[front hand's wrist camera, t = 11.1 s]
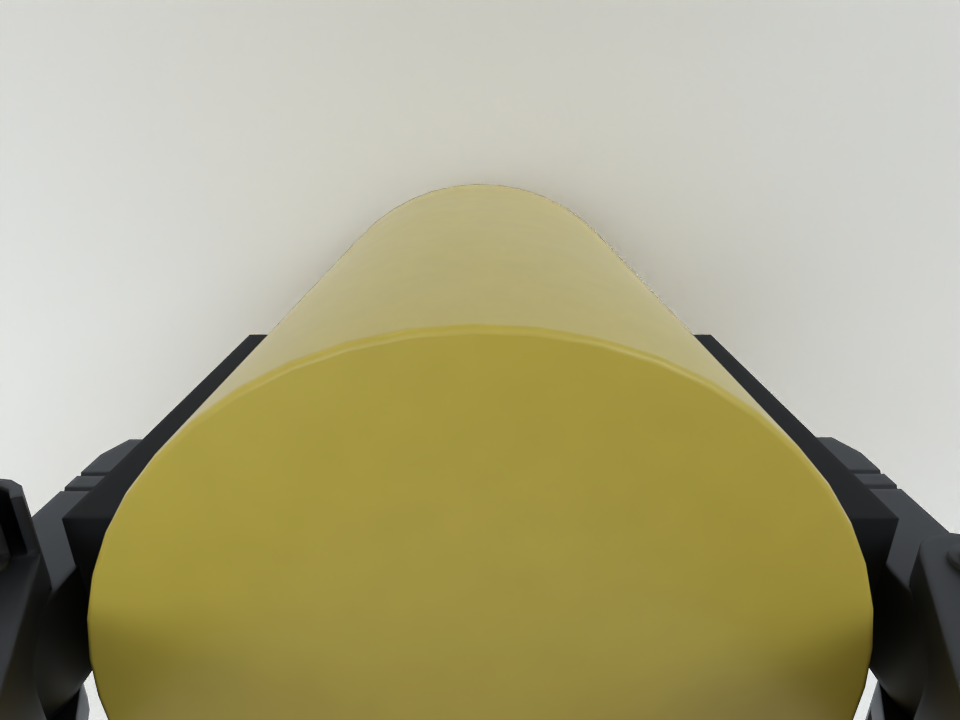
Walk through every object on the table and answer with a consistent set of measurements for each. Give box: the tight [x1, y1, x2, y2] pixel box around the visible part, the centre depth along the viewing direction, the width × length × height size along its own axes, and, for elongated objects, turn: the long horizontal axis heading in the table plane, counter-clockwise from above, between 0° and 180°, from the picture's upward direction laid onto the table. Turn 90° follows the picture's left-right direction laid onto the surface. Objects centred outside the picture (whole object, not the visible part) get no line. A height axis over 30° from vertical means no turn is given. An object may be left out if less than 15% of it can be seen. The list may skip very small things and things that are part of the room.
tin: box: [87, 184, 873, 720], centre depth 12 cm, size 8×8×11 cm
